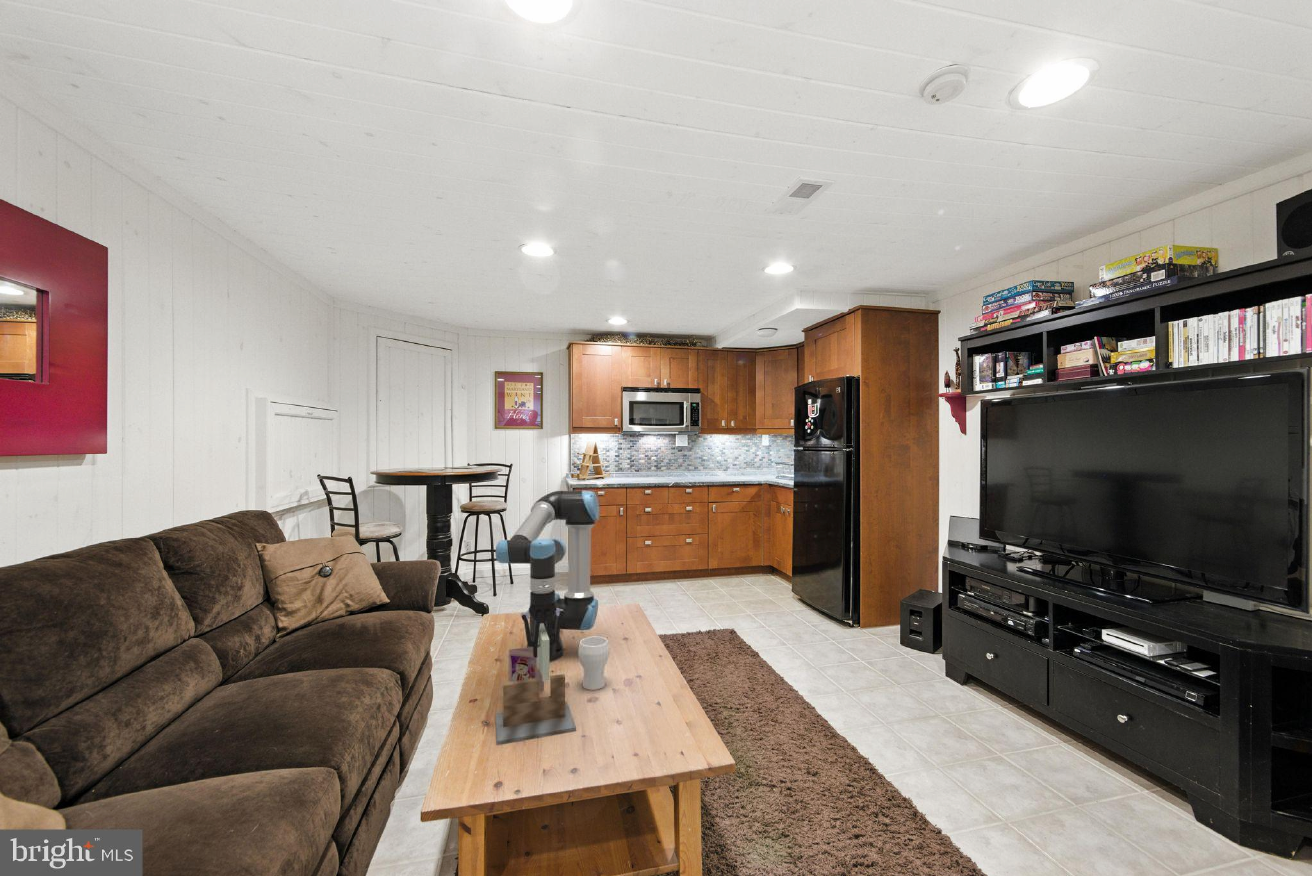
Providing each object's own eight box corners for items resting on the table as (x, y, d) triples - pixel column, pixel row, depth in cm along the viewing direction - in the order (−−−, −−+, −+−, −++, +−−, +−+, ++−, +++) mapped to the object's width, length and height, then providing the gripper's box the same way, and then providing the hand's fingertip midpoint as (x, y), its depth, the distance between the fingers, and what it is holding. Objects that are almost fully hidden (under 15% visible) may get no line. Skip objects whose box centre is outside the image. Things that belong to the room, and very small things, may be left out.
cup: (604, 693, 176) (603, 648, 176) (573, 690, 178) (573, 646, 178) (613, 679, 186) (612, 636, 187) (584, 677, 189) (584, 634, 189)
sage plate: (537, 661, 169) (537, 624, 169) (543, 660, 170) (543, 623, 170) (542, 681, 155) (542, 640, 155) (549, 680, 156) (549, 639, 156)
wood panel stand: (497, 744, 146) (497, 697, 146) (495, 716, 161) (495, 673, 161) (576, 730, 153) (575, 685, 153) (567, 704, 168) (567, 664, 168)
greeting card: (507, 695, 175) (507, 650, 175) (520, 686, 182) (520, 642, 182) (537, 701, 171) (536, 655, 171) (549, 691, 178) (549, 646, 178)
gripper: (518, 595, 157) (518, 675, 157) (569, 591, 162) (569, 668, 162) (516, 589, 165) (516, 665, 164) (565, 585, 169) (565, 658, 169)
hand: (542, 666), depth 163 cm, fingers closed on sage plate, 2 cm apart
